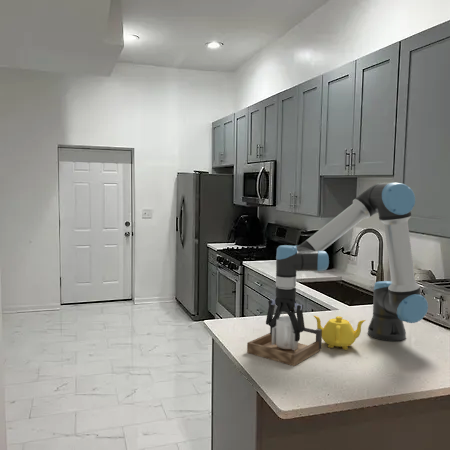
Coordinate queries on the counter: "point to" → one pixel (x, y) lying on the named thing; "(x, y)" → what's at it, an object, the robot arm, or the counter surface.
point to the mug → (284, 332)
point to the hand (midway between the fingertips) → (284, 346)
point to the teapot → (339, 332)
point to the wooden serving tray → (287, 356)
